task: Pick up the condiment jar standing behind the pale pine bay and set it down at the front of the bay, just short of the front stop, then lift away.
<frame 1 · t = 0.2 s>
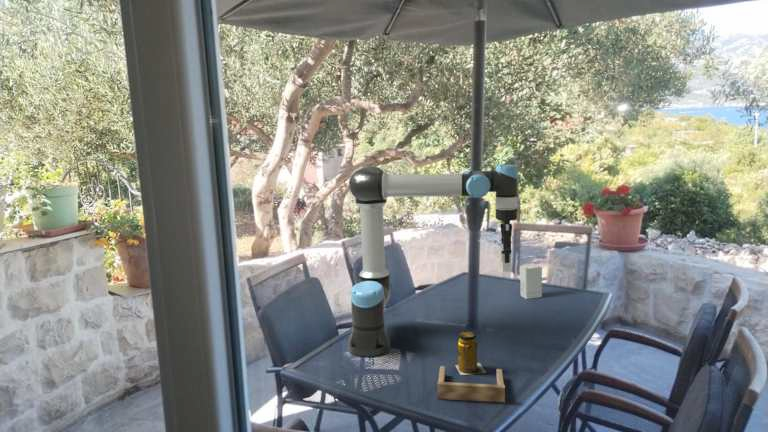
hand: (505, 266, 179), 28 cm above the table, tool pointing down, fingers open, 13 cm apart
bay: (470, 387, 149), on the table
condiment: (470, 370, 161), on the table
skincare box: (530, 297, 230), on the table
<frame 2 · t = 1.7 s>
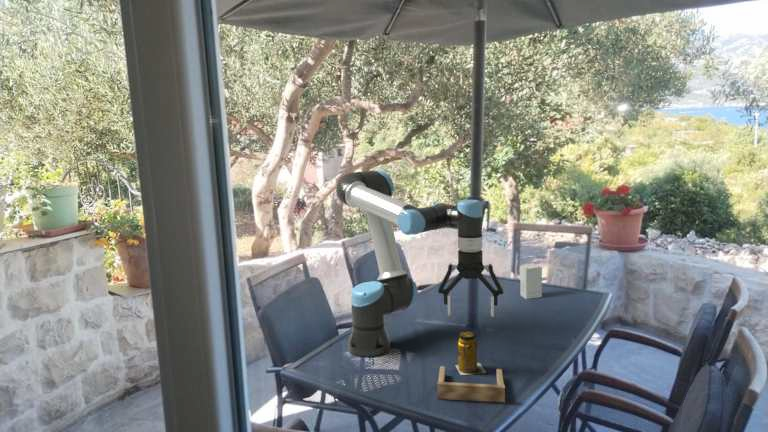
hand: (470, 314, 158), 19 cm above the table, tool pointing down, fingers open, 13 cm apart
nothing on the table moved.
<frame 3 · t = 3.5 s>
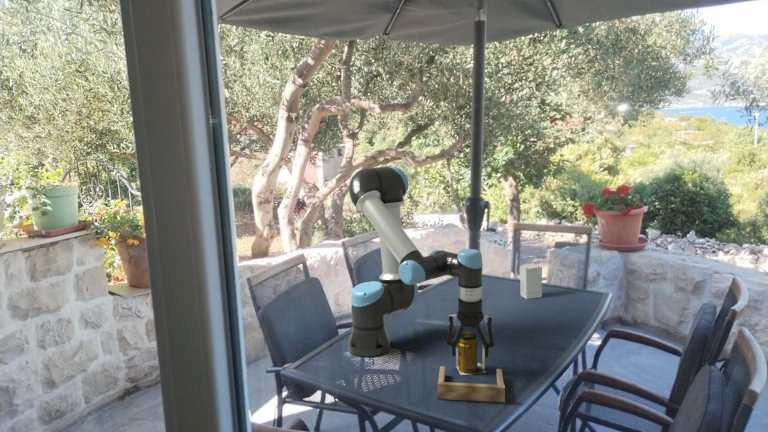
hand: (470, 365, 161), 1 cm above the table, tool pointing down, fingers open, 8 cm apart
condiment: (470, 370, 161), on the table, touching gripper
everything else where it was.
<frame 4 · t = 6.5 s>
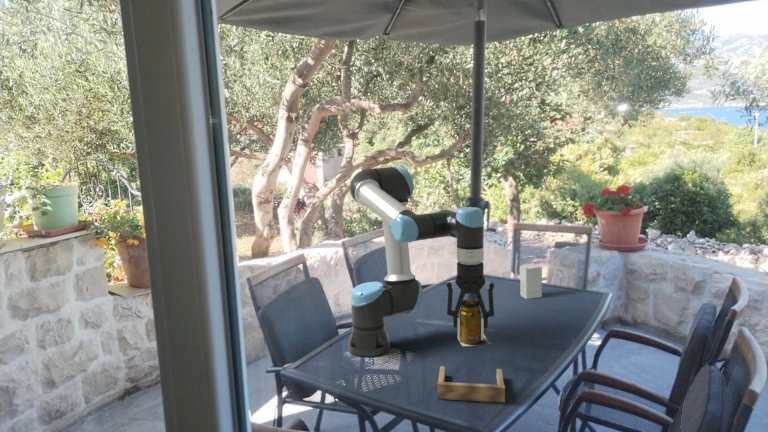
hand: (470, 337, 146), 16 cm above the table, tool pointing down, fingers closed on condiment, 6 cm apart
condiment: (473, 341, 146), point 15 cm above the table, touching gripper
everything else where it was.
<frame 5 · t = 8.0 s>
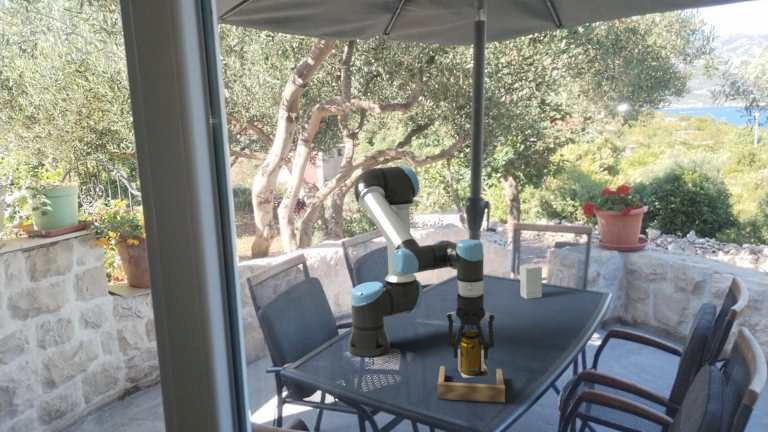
hand: (470, 368, 147), 7 cm above the table, tool pointing down, fingers closed on condiment, 6 cm apart
condiment: (474, 372, 147), point 6 cm above the table, touching gripper
everything else where it was.
when the fingers open (2 cm above the table, at t = 9.2 s): condiment drops 2 cm, on the table.
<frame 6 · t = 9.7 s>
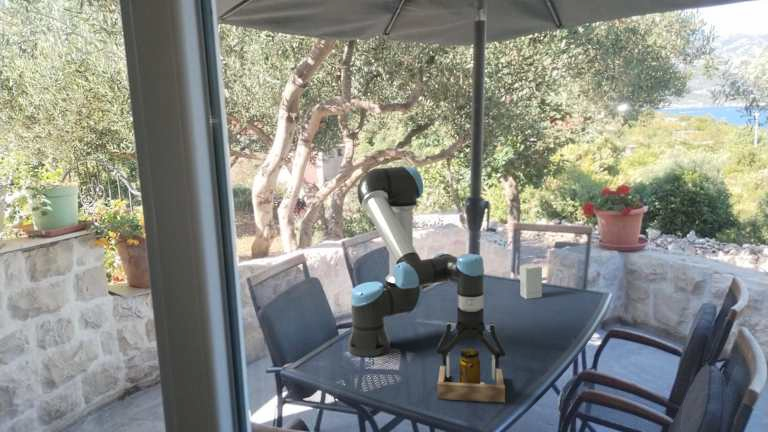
hand: (470, 376, 147), 4 cm above the table, tool pointing down, fingers open, 13 cm apart
condiment: (473, 390, 148), on the table
everything else where it was.
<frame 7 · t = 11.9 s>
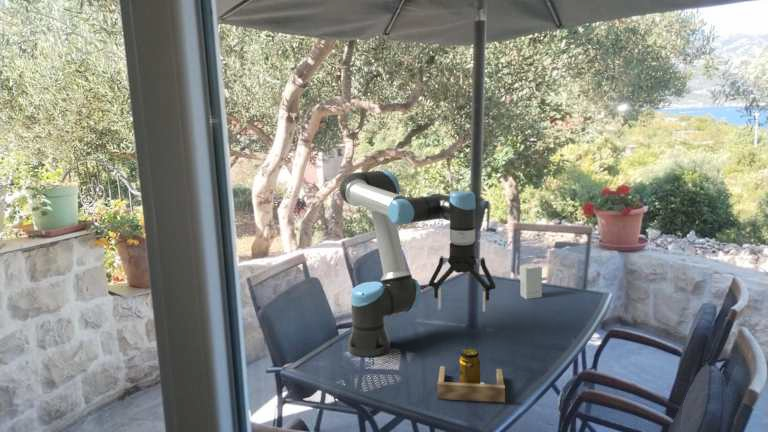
hand: (461, 309, 154), 22 cm above the table, tool pointing down, fingers open, 13 cm apart
nothing on the table moved.
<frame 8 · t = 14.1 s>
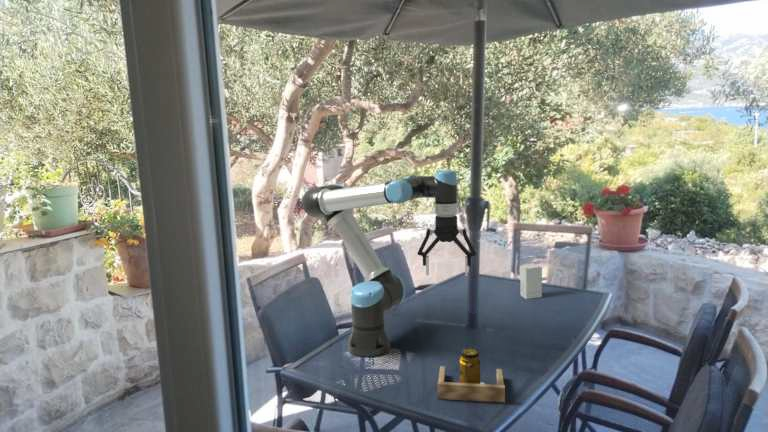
hand: (446, 274, 174), 27 cm above the table, tool pointing down, fingers open, 13 cm apart
nothing on the table moved.
at the end: condiment inside the target area (0.7 cm from its centre), on the table; condiment tilted 0°; the gripper is holding nothing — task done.
